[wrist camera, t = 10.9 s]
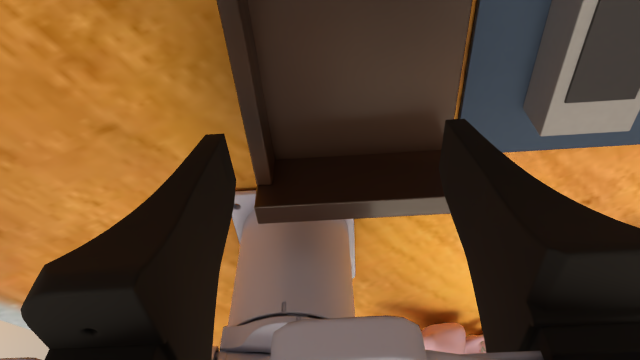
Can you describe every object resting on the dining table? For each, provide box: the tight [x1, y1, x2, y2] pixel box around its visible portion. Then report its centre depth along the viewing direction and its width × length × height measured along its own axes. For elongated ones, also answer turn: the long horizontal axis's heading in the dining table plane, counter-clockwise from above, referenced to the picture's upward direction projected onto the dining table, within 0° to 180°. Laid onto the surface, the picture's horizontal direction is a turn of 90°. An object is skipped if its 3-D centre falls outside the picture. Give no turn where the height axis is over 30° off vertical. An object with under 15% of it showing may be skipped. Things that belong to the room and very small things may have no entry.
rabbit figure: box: [421, 322, 486, 354], centre depth 38 cm, size 6×6×15 cm
